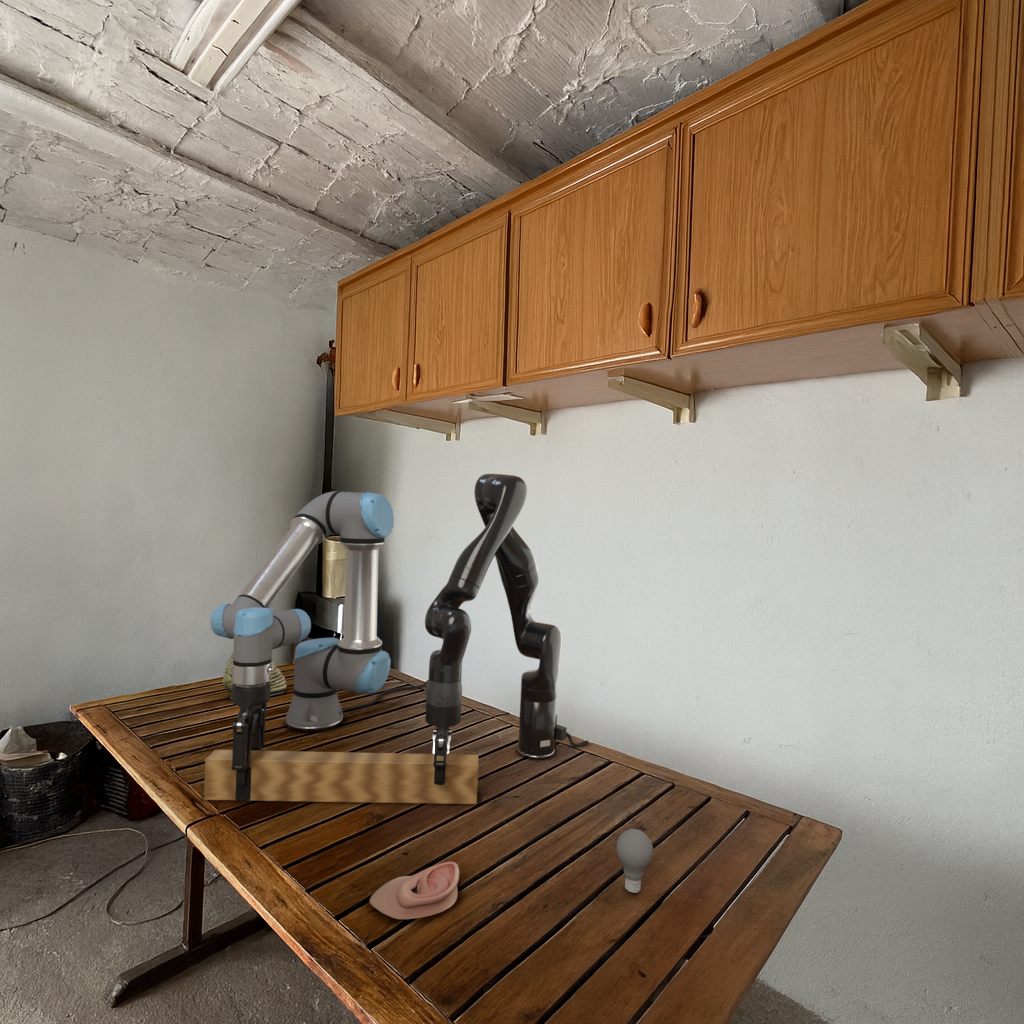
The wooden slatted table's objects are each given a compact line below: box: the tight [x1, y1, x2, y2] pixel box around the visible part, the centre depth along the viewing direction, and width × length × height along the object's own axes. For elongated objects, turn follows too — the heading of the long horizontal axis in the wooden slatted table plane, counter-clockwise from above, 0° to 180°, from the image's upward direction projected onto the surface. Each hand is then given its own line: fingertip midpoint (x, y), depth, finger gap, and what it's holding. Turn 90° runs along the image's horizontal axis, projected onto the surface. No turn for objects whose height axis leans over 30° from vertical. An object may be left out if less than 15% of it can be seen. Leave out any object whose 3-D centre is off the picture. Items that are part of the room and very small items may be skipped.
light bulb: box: [615, 828, 654, 894], centre depth 106 cm, size 6×6×10 cm
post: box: [203, 749, 479, 805], centre depth 134 cm, size 56×5×8 cm, turn 93°
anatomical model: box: [369, 861, 460, 920], centre depth 101 cm, size 13×4×12 cm
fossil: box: [222, 651, 288, 699], centre depth 198 cm, size 9×18×15 cm, turn 132°
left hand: (247, 792), depth 133 cm, fingers closed on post, 5 cm apart
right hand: (440, 775), depth 135 cm, fingers open, 8 cm apart
